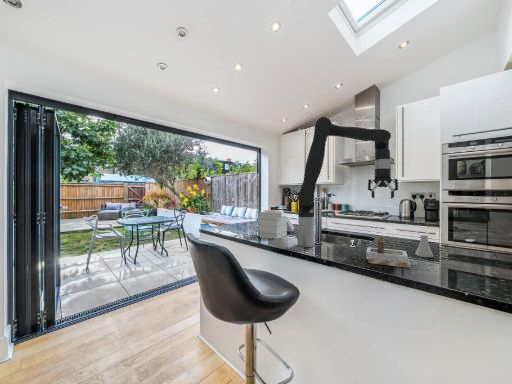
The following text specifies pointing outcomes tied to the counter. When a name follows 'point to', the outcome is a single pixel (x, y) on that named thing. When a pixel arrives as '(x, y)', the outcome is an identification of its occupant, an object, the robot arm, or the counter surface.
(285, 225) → the paper dispenser
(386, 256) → the shallow rectangular tray
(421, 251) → the flask
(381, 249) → the plate
